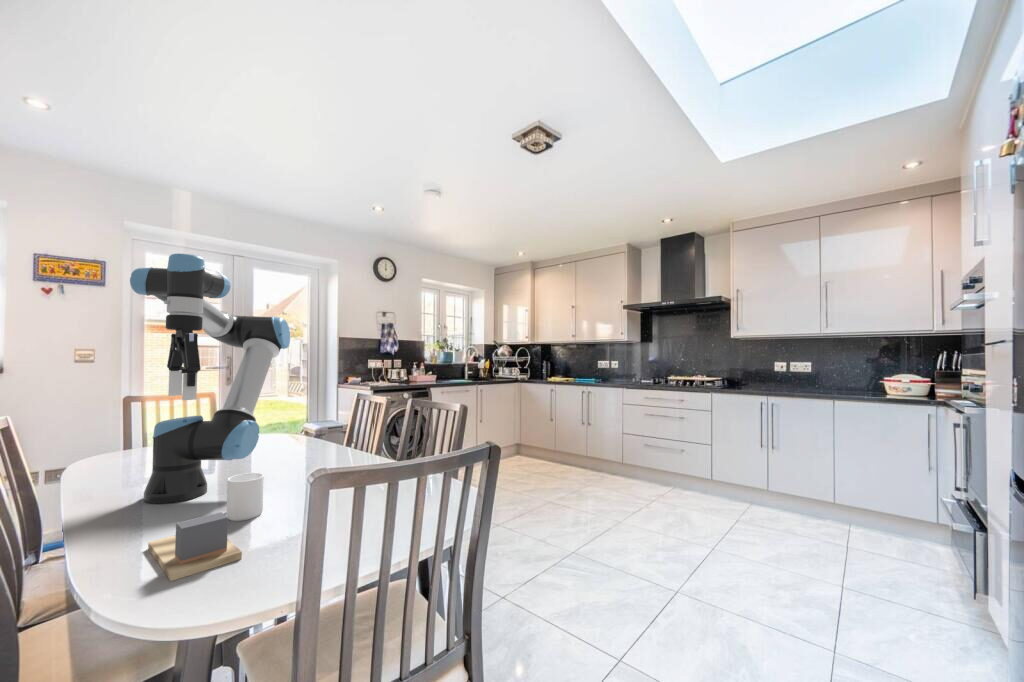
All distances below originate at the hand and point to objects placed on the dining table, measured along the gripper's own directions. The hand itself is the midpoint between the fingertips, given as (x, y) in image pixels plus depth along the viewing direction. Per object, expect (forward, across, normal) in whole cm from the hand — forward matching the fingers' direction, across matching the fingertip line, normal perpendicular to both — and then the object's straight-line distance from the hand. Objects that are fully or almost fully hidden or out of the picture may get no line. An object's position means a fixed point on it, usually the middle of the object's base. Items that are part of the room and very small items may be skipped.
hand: (181, 397), depth 110 cm
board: (+32, +23, -2) cm, 39 cm away
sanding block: (+30, +28, -2) cm, 41 cm away
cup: (+32, +5, +13) cm, 35 cm away
